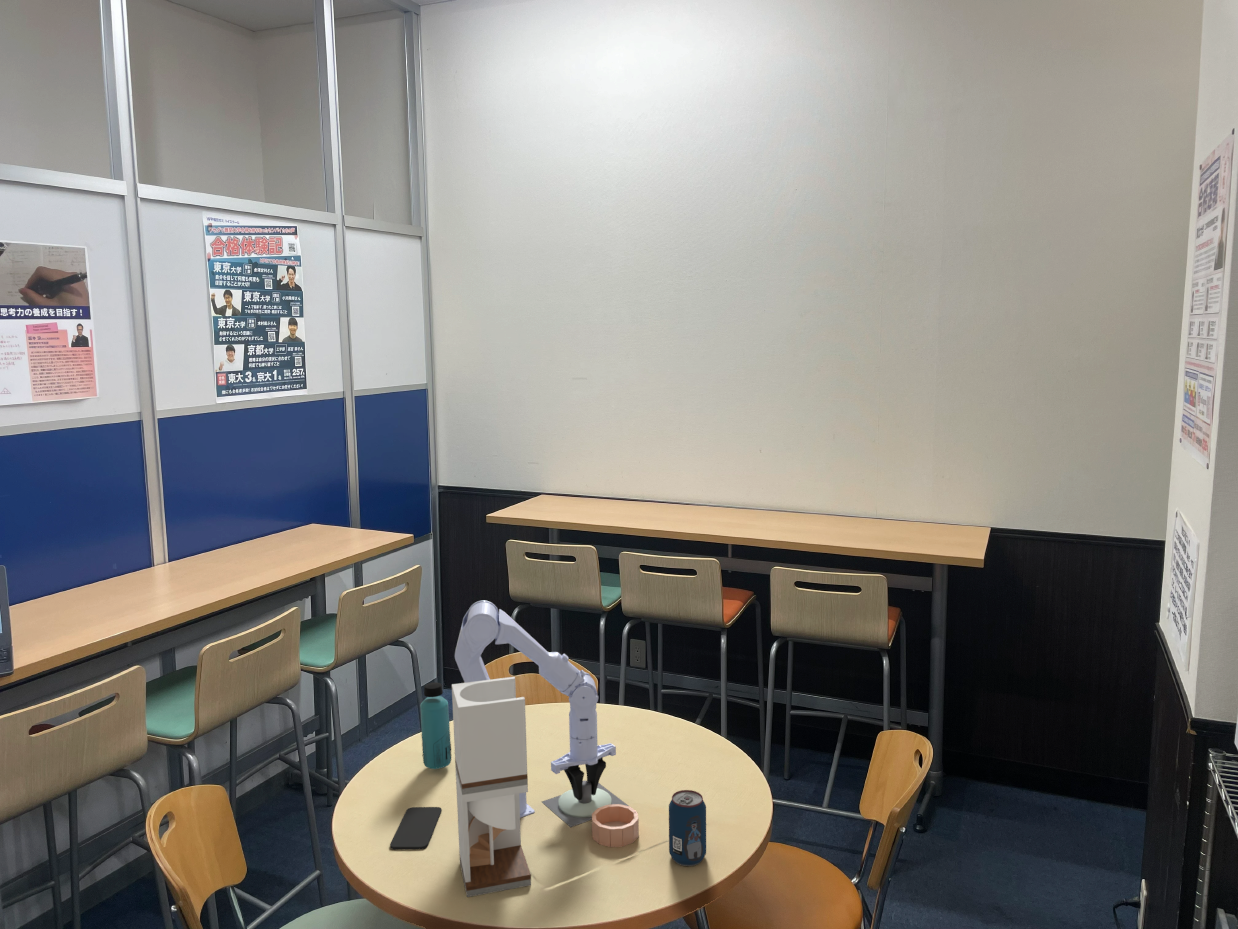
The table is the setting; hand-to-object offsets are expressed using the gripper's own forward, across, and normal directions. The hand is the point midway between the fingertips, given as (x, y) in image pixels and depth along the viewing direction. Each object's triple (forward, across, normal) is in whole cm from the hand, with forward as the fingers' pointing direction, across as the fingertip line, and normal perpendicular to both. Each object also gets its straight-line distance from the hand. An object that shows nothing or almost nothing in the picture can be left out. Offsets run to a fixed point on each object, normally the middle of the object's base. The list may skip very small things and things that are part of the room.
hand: (584, 795), depth 188 cm
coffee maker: (+2, -26, -11) cm, 28 cm away
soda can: (+2, +6, -27) cm, 28 cm away
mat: (+2, 0, 0) cm, 2 cm away
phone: (+3, -32, +12) cm, 34 cm away
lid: (+2, 0, 0) cm, 2 cm away
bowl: (+2, -1, -13) cm, 13 cm away
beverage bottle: (+2, -19, +33) cm, 38 cm away
